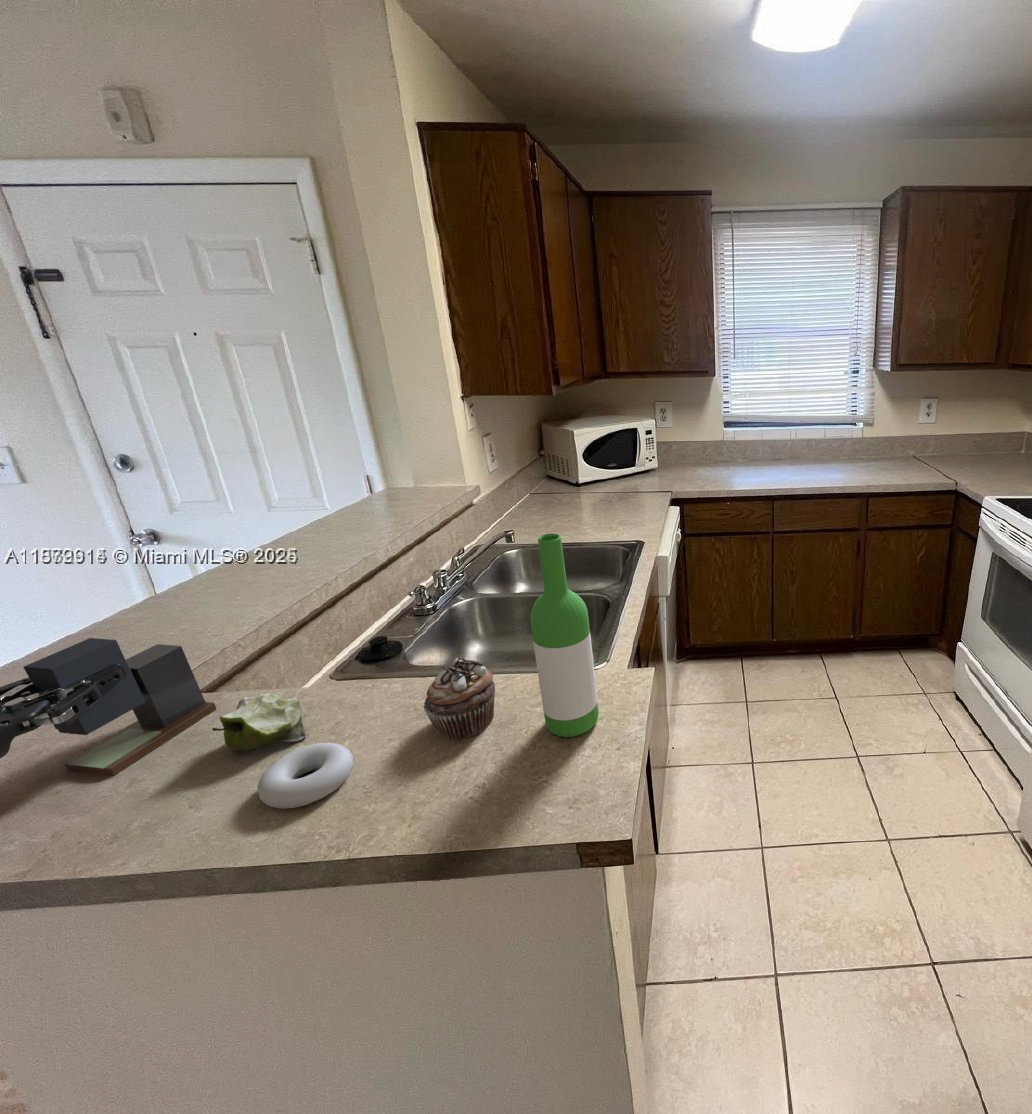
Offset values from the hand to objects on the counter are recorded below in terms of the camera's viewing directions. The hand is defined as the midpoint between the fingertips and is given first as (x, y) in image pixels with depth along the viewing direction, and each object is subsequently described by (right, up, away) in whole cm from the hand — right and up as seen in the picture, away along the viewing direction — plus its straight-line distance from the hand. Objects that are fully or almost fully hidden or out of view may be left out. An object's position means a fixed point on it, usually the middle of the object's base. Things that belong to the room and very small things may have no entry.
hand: (106, 668), depth 76 cm
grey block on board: (0, -11, +5) cm, 12 cm away
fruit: (+17, -11, +6) cm, 21 cm away
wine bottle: (+60, -10, +10) cm, 61 cm away
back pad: (0, -6, 0) cm, 6 cm away
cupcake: (+44, -10, +9) cm, 46 cm away
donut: (+29, -15, -2) cm, 33 cm away
